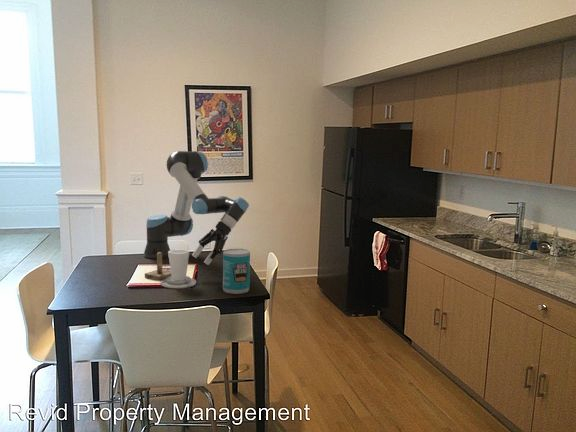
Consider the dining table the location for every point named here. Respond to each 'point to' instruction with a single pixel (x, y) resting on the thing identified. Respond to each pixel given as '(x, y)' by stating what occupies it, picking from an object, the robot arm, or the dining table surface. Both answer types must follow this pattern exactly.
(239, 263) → the food can
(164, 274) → the stand
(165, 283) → the grey plate
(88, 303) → the dining table surface
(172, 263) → the foam cup
